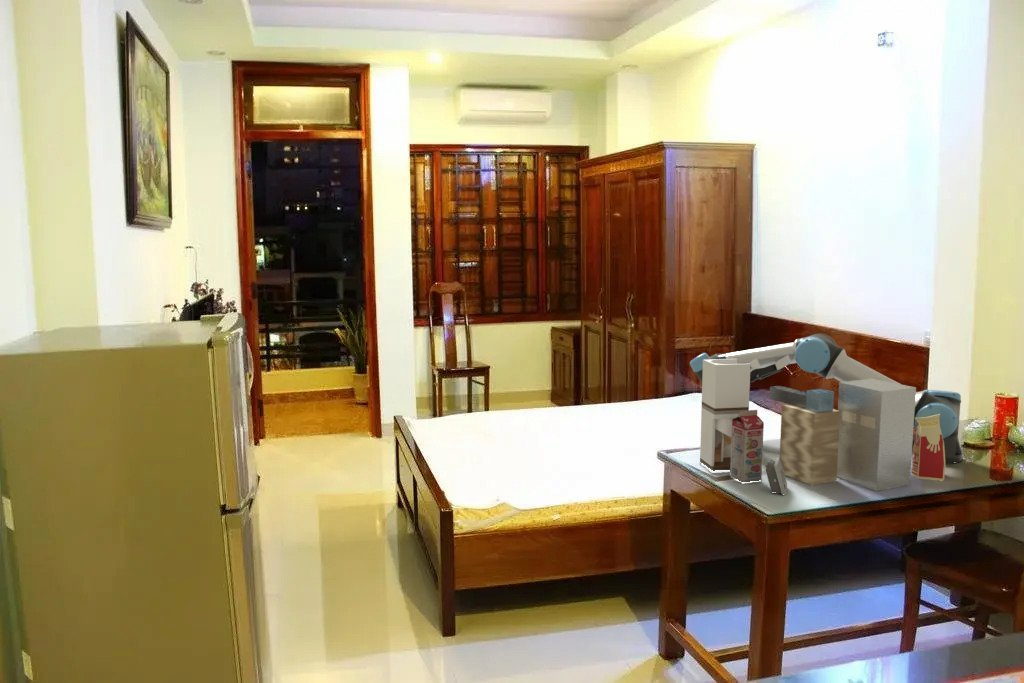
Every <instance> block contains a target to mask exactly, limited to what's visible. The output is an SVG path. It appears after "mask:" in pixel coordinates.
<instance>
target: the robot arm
mask: <svg viewBox="0 0 1024 683" xmlns="http://www.w3.org/2000/svg"><path fill="white" fill-rule="evenodd" d="M708 359H737V364H750V386H751V385H752V383H754V382H755V381H756V380H757V381H761V380H763V379H765V378H767V377H770V376H772V375H774V374H775V375H776V374H778V373H779V372H782V371H784V368H785V367H786V366H789V365H791V364H792V365H793V364H797V366H798V367H799V368H800V369H801V370H803V371H805V372H808V373H810V374H811V373H812V374H816V375H818V376H819V377H822V378H823V379H826V380H828V379H835V380H837V381H838V382H846V381H855V380H864V379H876V380H881V381H886V382H891V383H896V384H901V383H900V382H898V381H896V380H894V379H892V378H890V377H888V376H886V375H884V374H882V373H880V372H878V371H876V370H875V369H873V368H871V367H869V366H867V365H866V364H864V363H861V362H859V361H857V360H856V359H854V358H852V357H849V356H848V355H847V352H846V350H845V348H843V347H841V346H839V345H837V343H836V341H835V340H834V339H833V338H832V337H831V336H829V335H828V334H825V333H814V334H811V335H808V336H805V337H800V338H799V337H798V338H796V339H795V340H794V341H793V342H788V343H787V342H785V343H780V344H774V345H768V346H764V347H756V348H751V349H750V348H749V349H745V350H740V351H739V350H738V351H733V352H727V353H715V354H712V355H711V356H709V354H708V353H706V352H702V353H701V354H699V355H697V356H696V357H694V358H692V359H691V360H690V362H689V365H690V367H691V369H692V372H694V374H695V375H696V377H697V379H698V380H699V382H700V383H701V384H702V375H703V360H708ZM901 385H903V384H901ZM961 399H962V398H961V394H960V393H959V392H955V391H948V390H937V389H923V390H921V391H916V397H915V412H914V427H913V428H916V429H917V426H918V423H917V420H916V419H915V418H921V417H929V416H933V415H938V414H940V417H939V423H940V428H941V432H942V437H943V441H944V449H945V464H955V463H954V462H959V461H961V460H962V461H963V454H964V453H963V449H962V447H961V443H960V441H959V427H960V414H961V413H960V412H961V403H962V400H961ZM913 449H914V445H912V457H913ZM962 461H961V462H962ZM959 463H960V462H959Z"/></svg>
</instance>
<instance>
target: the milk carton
mask: <svg viewBox="0 0 1024 683" xmlns="http://www.w3.org/2000/svg"><path fill="white" fill-rule="evenodd" d="M939 417H940V414H938V415H933V416H929V417H921V418H915V419H916V420H917V423H918V426H917V428H916V429H915V430H916V432H915V436H914V439H913V441H914V442H913V446H914V449H913V456H912V457H911V472H910V476H912V477H914V478H915V479H917V480H928V479H929V481H937V480H943V481H942V482H945V473H946V463H945V449H944V441H943V437H942V432H941V428H940V423H939Z"/></svg>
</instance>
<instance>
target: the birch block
mask: <svg viewBox="0 0 1024 683" xmlns="http://www.w3.org/2000/svg"><path fill="white" fill-rule="evenodd" d="M780 417H781V418H780V441H779V442H780V443H779V458H780V460H781V463H782V467H783V470H784V474H786V475H785V476H787V475H788V476H787V477H789V476H790V478H792V477H793V478H792V479H794V480H797V481H800V482H802V483H804V484H805V483H806V484H808V485H811V486H814V485H820V484H825V483H831V482H836V481H837V480H838V479H837V478H838V477H837V462H838V444H839V425H840V411H838V409H835V408H833V411H830V412H822V413H816V412H813V411H809V410H806V409H805V408H801V407H798V406H794V405H790V404H787V403H785V404H781V415H780Z"/></svg>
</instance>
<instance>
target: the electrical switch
mask: <svg viewBox="0 0 1024 683" xmlns="http://www.w3.org/2000/svg"><path fill="white" fill-rule="evenodd" d="M764 470H765V473H766V477H767V480H768V484H769V489H770V492H771V493H772V492H776V493H775V494H781V495H782V494H785V493H787V490H786V489H788V484H787V478H786V475H785V474H784V470H783V467H782V463H781V460H780V457H776V459H775V460H773V461H767V463H766V466H765V468H764ZM785 495H786V494H785Z"/></svg>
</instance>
